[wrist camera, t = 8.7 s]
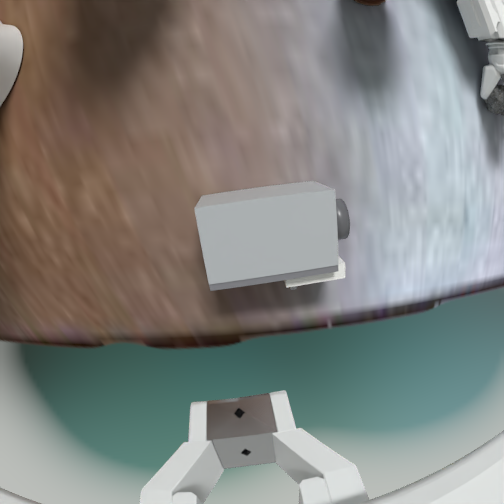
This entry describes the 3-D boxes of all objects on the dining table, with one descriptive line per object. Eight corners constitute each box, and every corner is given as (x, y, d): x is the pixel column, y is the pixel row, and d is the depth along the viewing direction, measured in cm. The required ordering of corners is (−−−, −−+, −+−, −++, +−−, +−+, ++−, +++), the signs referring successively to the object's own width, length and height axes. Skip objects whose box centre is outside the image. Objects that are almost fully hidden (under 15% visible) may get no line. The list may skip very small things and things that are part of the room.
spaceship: (453, -67, 16) (494, -84, 5) (516, 108, 31) (568, 118, 20) (385, -85, 17) (423, -116, 6) (463, 115, 32) (525, 125, 21)
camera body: (213, 263, 34) (210, 291, 27) (202, 195, 31) (194, 208, 25) (332, 245, 34) (354, 269, 28) (327, 179, 32) (351, 187, 25)
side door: (279, 274, 34) (286, 293, 29) (277, 255, 33) (285, 272, 29) (331, 265, 34) (345, 283, 29) (330, 247, 33) (345, 262, 29)
